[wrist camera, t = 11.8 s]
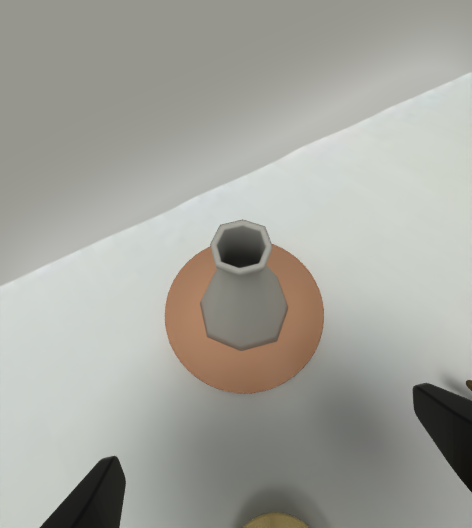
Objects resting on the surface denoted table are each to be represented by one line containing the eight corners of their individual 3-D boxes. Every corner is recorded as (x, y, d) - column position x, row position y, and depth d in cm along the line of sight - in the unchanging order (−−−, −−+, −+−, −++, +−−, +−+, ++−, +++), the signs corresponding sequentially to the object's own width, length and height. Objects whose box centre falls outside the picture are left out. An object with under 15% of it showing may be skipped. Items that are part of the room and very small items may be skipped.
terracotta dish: (332, 264, 26) (335, 259, 25) (303, 418, 21) (305, 419, 20) (200, 230, 28) (198, 225, 27) (141, 362, 23) (137, 360, 22)
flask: (194, 348, 22) (158, 309, 13) (205, 265, 25) (182, 188, 16) (288, 354, 22) (317, 317, 13) (287, 269, 25) (309, 191, 16)
